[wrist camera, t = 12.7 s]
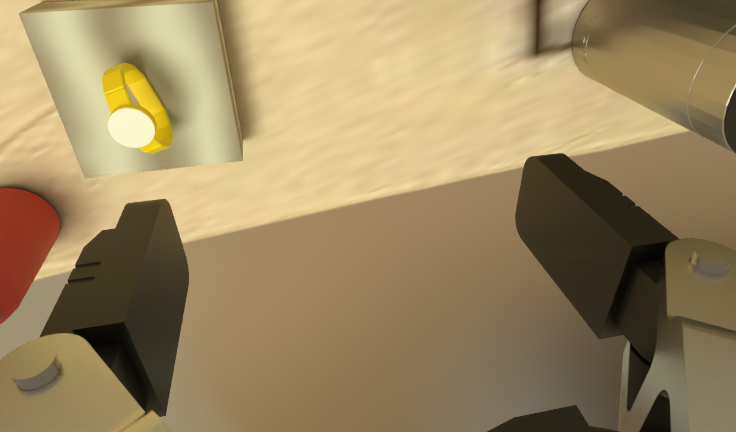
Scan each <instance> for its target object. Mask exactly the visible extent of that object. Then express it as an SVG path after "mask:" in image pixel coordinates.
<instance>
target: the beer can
mask: <svg viewBox="0 0 736 432" xmlns="http://www.w3.org/2000/svg"><path fill="white" fill-rule="evenodd" d="M59 232H60V221H59V217H58V215H57V214H56V212H55V210H54V208H53V207H52V206H51V205H50V204H49V203H48V202H47V201H45V200H44V199H42V198H41V197H39V196H37V195H35V194H34V193H31V192H28V191H24V190H21V189H14V188H1V189H0V324H2V323H3V322H4V321H5V320H6V319H7V318H8V317H9V316H10V315H11V314H12V313H13V312H14V311H15V310H16V309H17V308H18V307H19V305H20V303H21V301H22V299H23V298H24V296H25V294H26V292H27V291H28V289H29V287H30V285H31V284H32V282H33V280H34V278H35V277H36V275H37V273H38V271H39V269H40V268H41V266H42V264H43V262H44V261H45V259H46V257H47V255H48V253H49V252H50V250H51V248H52V246H53V245H54V243H55V241H56V239H57V237H58V234H59Z"/></svg>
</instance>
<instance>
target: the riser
mask: <svg viewBox="0 0 736 432" xmlns="http://www.w3.org/2000/svg"><path fill="white" fill-rule="evenodd" d="M19 16H20V18H21V20H22V23H23V25H24V28H25V30H26V33H27V35H28V38H29V40H30V43H31V45H32V48H33V50H34V53H35V55H36V58H37V60H38V63H39V65H40V68H41V70H42V73H43V75H44V78H45V80H46V83H47V85H48V88H49V90H50V93H51V95H52V98H53V100H54V103H55V105H56V108H57V110H58V113H59V115H60V117H61V120H62V122H63V125H64V127H65V130H66V132H67V135H68V137H69V140H70V142H71V145H72V147H73V150H74V152H75V155H76V157H77V160H78V162H79V165H80V167H81V170H82V172H83V175H84V177H85V178H92V177H101V176H110V175H119V174H128V173H137V172H145V171H154V170H163V169H172V168H181V167H190V166H199V165H208V164H217V163H226V162H235V161H242V159H243V139H242V133H241V128H240V122H239V117H238V111H237V106H236V100H235V95H234V89H233V84H232V78H231V73H230V67H229V62H228V56H227V51H226V45H225V40H224V34H223V29H222V23H221V18H220V13H219V7H218V2H217V0H77V1H59V2H41V3H39V4H37V5H35V6H33V7H31V8H29V9H27V10H25V11H23V12H21V13H19ZM122 63H128V64H132V65H134V66H135V67H136V68H137V69H139V70H140V71H141V72H142V73H143V74H144V75H145V77H146V79H147V80H148V82H149V84H150V85H151V87H152V89H153V90H154V92H155V93H156V95H157V97H158V98H159V100H160V102H161V103H162V105H163V106H164V107H165V108H166V109H165V110H166V111H167V114H168V117H169V119H170V122H171V126H172V131H173V142H172V144H171V146H170V147H169V148H167V149H164V150H162V151H159V152H157V153H154V154H150V153H145V152H143V151H141V150H140V149H139V148H130V147H127V146H124V145H122V144H120V143H118V142H117V141H116V140H115V139H114V138H113V137H112V136H111V134H110V132H109V130H108V125H107V122H108V118H109V116H110V114H111V110H110V108H109V106H108V103H107V101H106V99H105V95H104V91H103V85H102V76H103V74H104V73H105V71H106V69H109V68H112V67H114V66H117V65H119V64H122ZM126 89H127V90H128V93H129V95H130V98H131V100H132V102H133V104H136V105H139V106H141V105H140V104H139V102H138V101H137V99H136V97H135V96H134V94H133V93H132V91H131V90H130V88H129V87H128V85H127V84H126Z"/></svg>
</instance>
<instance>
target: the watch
mask: <svg viewBox="0 0 736 432" xmlns="http://www.w3.org/2000/svg"><path fill="white" fill-rule="evenodd" d="M126 84H127V85H128V87H129V88H130V90H131V91H132V93H133V94H134V96H135V97H136V99H137V101H138V102H139V104H140V105H141V106H139V105H136V104H133V102H132V100H131V98H130V95H129V93H128V90H127V89H126ZM102 85H103V91H104V95H105V99H106V101H107V103H108V106H109V108H110V110H111V114H110V116H109V118H108V122H107V125H108V130H109V132H110V134H111V136H112V137H113V138H114V139H115V140H116V141H117V142H118V143H120V144H122V145H124V146H127V147H130V148H139V149H140V150H141V151H143V152H145V153H150V154H154V153H157V152H159V151H162V150H164V149H167V148H169V147H170V146H171V144H172V142H173V131H172V126H171V122H170V119H169V117H168V114H167V111H166V110H165V109H166V108H165V107H164V106H163V105H162V103H161V102H160V100H159V98H158V97H157V95H156V93H155V92H154V90H153V89H152V87H151V85H150V84H149V82H148V80H147V79H146V77H145V75H144V74H143V73H142V72H141V71H140V70H139V69H137V68H136V67H135V66H134V65H132V64H128V63H122V64H119V65H117V66H114V67H112V68H109V69H106V71H105V73H104V74H103V76H102Z"/></svg>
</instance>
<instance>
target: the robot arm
mask: <svg viewBox="0 0 736 432" xmlns="http://www.w3.org/2000/svg"><path fill="white" fill-rule="evenodd" d="M572 51H573V57H574V60H575V63H576V65H577V67H578V68H579V70H580V71H581V72H582V73H583V74H585V75H586V76H587V77H589V78H591V79H593V80H595V81H597V82H599V83H601V84H603V85H605V86H607V87H608V88H610V89H612V90H614V91H616V92H618V93H619V94H621V95H623V96H625V97H627V98H629V99H631V100H633V101H635V102H637V103H639V104H641V105H643V106H644V107H646V108H648V109H650V110H652V111H654V112H656V113H658V114H660V115H662V116H664V117H666V118H667V119H669V120H671V121H673V122H675V123H677V124H679V125H681V126H683V127H685V128H687V129H689V130H691V131H692V132H694V133H696V134H698V135H700V136H702V137H704V138H706V139H708V140H710V141H712V142H714V143H716V144H718V145H720V146H722V147H724V148H726V149H728V150H729V151H731V152H734V153H735V154H736V0H590V1H589V2H588V4H587V5H586V7H585V8H584V10H583V11H582V13H581V15H580V17H579V19H578V21H577V24H576V27H575V30H574V34H573V41H572ZM515 219H516V227H517V231H518V234H519V236H520V238H521V239H522V241H523V242H524V243H525V244H526V246H527V247H528V248H529V249H530V251H531V252H532V253H533V255H534V256H535V257H536V258H537V260H538V261H539V262H540V264H541V265H542V266H543V268H544V269H545V270H546V271H547V273H548V274H549V275H550V277H551V278H552V279H553V280H554V282H555V283H556V284H557V286H558V287H559V288H560V289H561V291H562V292H563V293H564V294H565V296H566V297H567V298H568V300H569V301H570V302H571V303H572V305H573V306H574V307H575V309H576V310H577V311H578V312H579V314H580V315H581V316H582V318H583V319H584V320H585V321H586V323H587V324H588V325H589V327H590V328H591V329H592V331H593V332H594V333H595V334H596V336H597V337H598V338H599V339H603V338H608V337H614V336H619V335H624V336H625V337H626V338H627V339H628V342H627V345H626V347H625V349H624V353H623V369H622V383H621V399H620V415H619V426H618V431H615V430H611V429H606V428H599V427H593V426H589V425H588V423H587V422H586V420H585V419H584V417H583V416H582V414H581V412H580V411H579V409H578V408H577V406H576V405H574V406H569V407H564V408H559V409H554V410H549V411H545V412H540V413H534V414H529V415H525V416H520V417H515V418H512V419H511V420H509V421H507V422H505V423H503V424H501V425H499V426H497V427H495V428H493V429H491V430H490V431H488V432H736V251H735V250H733V249H731V248H729V247H726V246H724V245H721V244H718V243H715V242H712V241H708V240H702V239H693V238H685V239H678V238H677V237H676V236H675V235H674V234H672V233H671V232H670V231H669V230H667V229H666V228H665V227H664V226H663V225H661V224H660V223H658V221H656V220H655V219H654V218H653V217H651V216H650V215H649V214H648V213H646V212H645V211H644V210H643V209H641V208H640V207H639V206H635V203H634V202H633V201H631V200H630V199H629V198H628V197H627V196H623V195H622V192H620V191H619V190H618V189H616V188H615V187H614V186H613V185H612V184H610V183H609V182H608V181H606V180H604V179H602V178H600V177H597V176H595V175H593V174H591V173H589V172H587V171H584V170H583V169H582V168H581V167H580V166H578V165H577V164H576V163H575V162H574V161H572V160H571V159H570V158H569V157H568V156H566V155H565V154H563V153H558V154H549V155H541V156H532V157H529V158H528V159H527V160H526V162H525V165H524V169H523V175H522V181H521V186H520V191H519V197H518V203H517V209H516V215H515ZM75 267H76V268H75V269H73V270H72V272H71V275H70V276H69V279H68V284H66V285H65V287H64V289H63V291H62V293H61V295H60V297H59V299H58V301H57V303H56V305H55V307H54V309H53V311H52V313H51V315H50V317H49V319H48V321H47V323H46V325H45V327H44V329H43V331H42V333H41V335H40V337H39V338H37V339H35V340H32V341H29V342H27V343H25V344H23V345H21V346H19V347H18V348H16V349H14V350H13V351H11V352H10V353H9V354H7V355H6V356H4V357H3V358H2V359H1V360H0V432H172V431H171V430H170V429H169V428H168V427H167V425H166V424H165V423H164V422H163V421H162V420H161V418H160V417H161V416H166V410H167V405H168V399H169V393H170V388H171V382H172V376H173V371H174V364H175V359H176V353H177V348H178V342H179V336H180V331H181V325H182V319H183V313H184V307H185V302H186V297H187V291H188V285H189V272H188V264H187V259H186V255H185V252H184V249H183V245H182V242H181V239H180V236H179V232H178V229H177V226H176V222H175V219H174V216H173V213H172V209H171V207H170V204H169V202H168V201H167V200H166V199H160V200H151V201H143V202H134V203H128V204H126V205H125V207H124V210H123V212H122V214H121V217H120V219H119V221H118V224H117V226H116V228H115V229H109V230H102V231H101V232H100V233H99V234H98V235H97V236H96V237H95V238H94V239H92V240H91V241H90V242H89V243H88V244H87V245H86V246H85V247H84V248H83V250H82V252H81V254H80V256H79V258H78V260H77V262H76V264H75Z"/></svg>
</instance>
